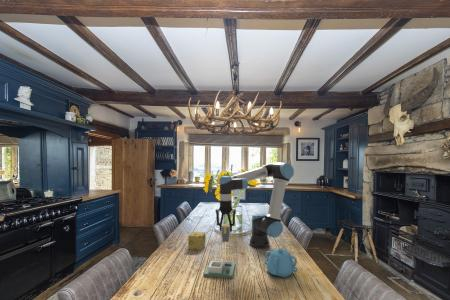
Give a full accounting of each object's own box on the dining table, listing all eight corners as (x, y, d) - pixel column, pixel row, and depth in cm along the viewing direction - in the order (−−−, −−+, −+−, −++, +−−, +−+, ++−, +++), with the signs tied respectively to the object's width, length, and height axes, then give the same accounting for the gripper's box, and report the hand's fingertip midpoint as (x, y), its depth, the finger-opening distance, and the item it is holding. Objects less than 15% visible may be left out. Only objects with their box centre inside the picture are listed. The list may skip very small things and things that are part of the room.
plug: (229, 239, 160) (229, 223, 161) (228, 242, 155) (228, 226, 155) (223, 238, 161) (223, 223, 161) (222, 241, 155) (221, 226, 156)
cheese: (201, 250, 175) (201, 236, 175) (187, 249, 177) (187, 235, 177) (205, 245, 185) (205, 232, 185) (192, 244, 187) (192, 231, 187)
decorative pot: (299, 279, 135) (299, 254, 135) (271, 280, 133) (271, 255, 133) (288, 266, 151) (289, 244, 151) (263, 267, 149) (263, 244, 150)
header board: (235, 264, 153) (235, 257, 153) (232, 278, 135) (232, 270, 135) (210, 262, 155) (210, 255, 155) (203, 276, 137) (203, 268, 137)
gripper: (239, 199, 161) (239, 234, 161) (213, 198, 164) (213, 233, 163) (238, 201, 154) (238, 238, 153) (211, 200, 156) (211, 237, 156)
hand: (225, 236), depth 158 cm, fingers closed on plug, 4 cm apart
